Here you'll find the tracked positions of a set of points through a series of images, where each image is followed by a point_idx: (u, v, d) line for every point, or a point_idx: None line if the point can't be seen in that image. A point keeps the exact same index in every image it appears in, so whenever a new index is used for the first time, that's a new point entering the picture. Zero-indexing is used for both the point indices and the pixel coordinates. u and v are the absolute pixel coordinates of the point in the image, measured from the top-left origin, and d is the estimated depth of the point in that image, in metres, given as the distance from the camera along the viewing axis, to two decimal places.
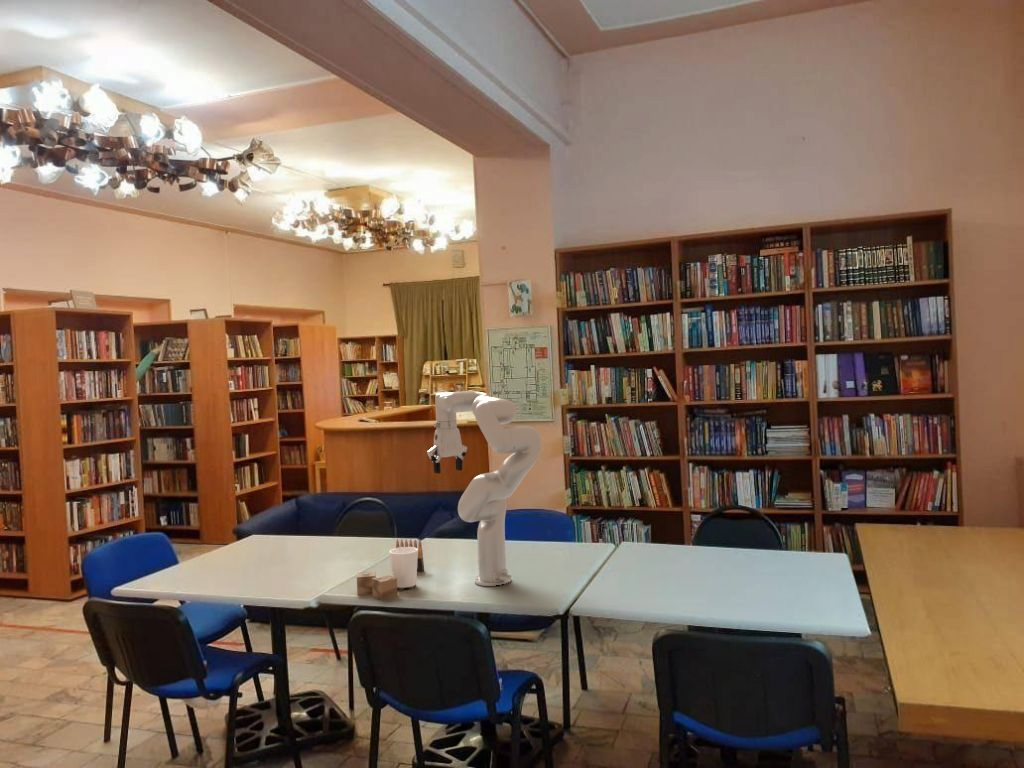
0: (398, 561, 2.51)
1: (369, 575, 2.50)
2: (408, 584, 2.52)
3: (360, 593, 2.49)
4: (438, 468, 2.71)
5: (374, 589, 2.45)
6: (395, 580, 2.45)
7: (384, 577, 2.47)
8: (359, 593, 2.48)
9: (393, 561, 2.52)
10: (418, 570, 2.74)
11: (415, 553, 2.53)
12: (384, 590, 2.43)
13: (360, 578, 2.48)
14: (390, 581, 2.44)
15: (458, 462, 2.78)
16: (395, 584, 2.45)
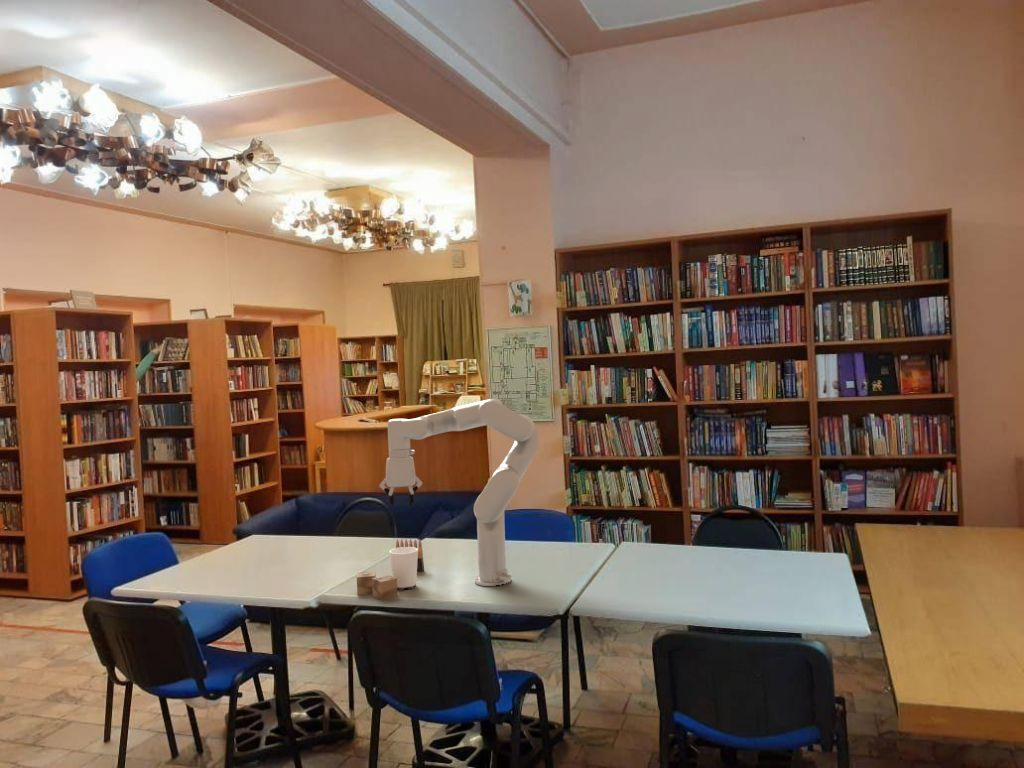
0: (398, 561, 2.51)
1: (369, 575, 2.50)
2: (408, 584, 2.52)
3: (360, 593, 2.49)
4: None
5: (374, 589, 2.45)
6: (395, 580, 2.45)
7: (384, 577, 2.47)
8: (359, 593, 2.48)
9: (393, 561, 2.52)
10: (418, 570, 2.74)
11: (415, 553, 2.53)
12: (384, 590, 2.43)
13: (360, 578, 2.48)
14: (390, 581, 2.44)
15: None
16: (395, 584, 2.45)
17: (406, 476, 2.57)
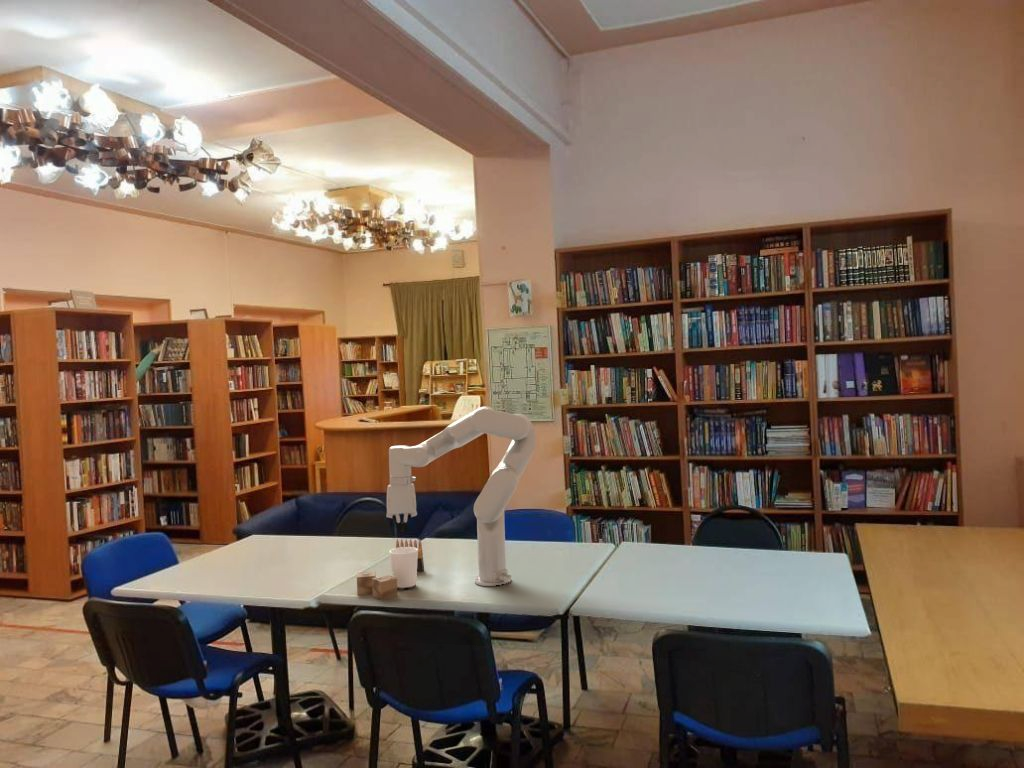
0: (398, 561, 2.51)
1: (369, 575, 2.50)
2: (408, 584, 2.52)
3: (360, 593, 2.49)
4: None
5: (374, 589, 2.45)
6: (395, 580, 2.45)
7: (384, 577, 2.47)
8: (359, 593, 2.48)
9: (393, 561, 2.52)
10: (418, 570, 2.74)
11: (415, 553, 2.53)
12: (384, 590, 2.43)
13: (360, 578, 2.48)
14: (390, 581, 2.44)
15: None
16: (395, 584, 2.45)
17: (407, 503, 2.57)
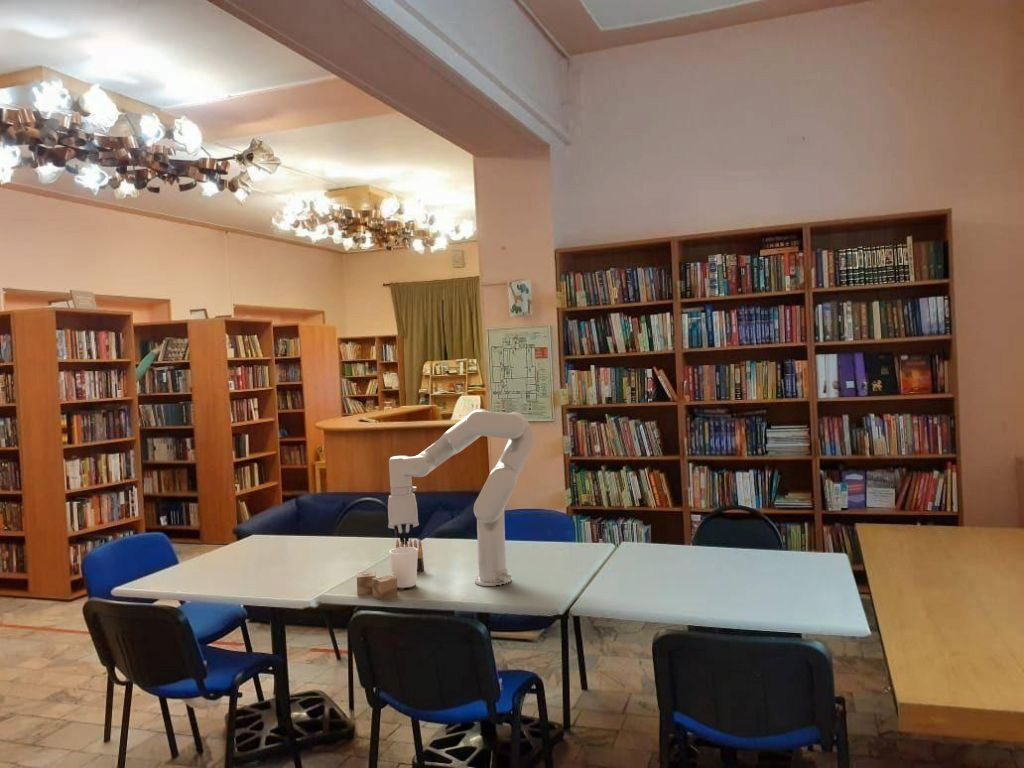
0: (398, 561, 2.51)
1: (369, 575, 2.50)
2: (408, 584, 2.52)
3: (360, 593, 2.49)
4: None
5: (374, 589, 2.45)
6: (395, 580, 2.45)
7: (384, 577, 2.47)
8: (359, 593, 2.48)
9: (393, 561, 2.52)
10: (418, 570, 2.74)
11: (415, 553, 2.53)
12: (384, 590, 2.43)
13: (360, 578, 2.48)
14: (390, 581, 2.44)
15: None
16: (395, 584, 2.45)
17: (408, 513, 2.57)
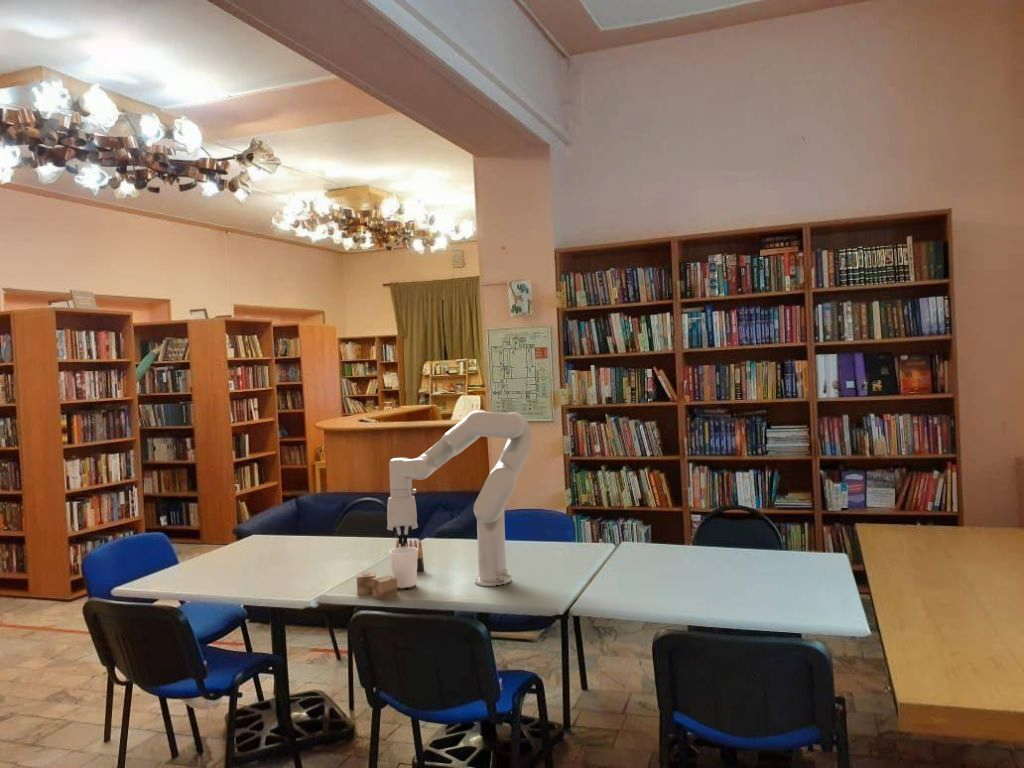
0: (398, 561, 2.51)
1: (369, 575, 2.50)
2: (408, 584, 2.52)
3: (360, 593, 2.49)
4: None
5: (374, 589, 2.45)
6: (395, 580, 2.45)
7: (384, 577, 2.47)
8: (359, 593, 2.48)
9: (393, 561, 2.52)
10: (418, 570, 2.74)
11: (415, 553, 2.53)
12: (384, 590, 2.43)
13: (360, 578, 2.48)
14: (390, 581, 2.44)
15: None
16: (395, 584, 2.45)
17: (407, 516, 2.57)
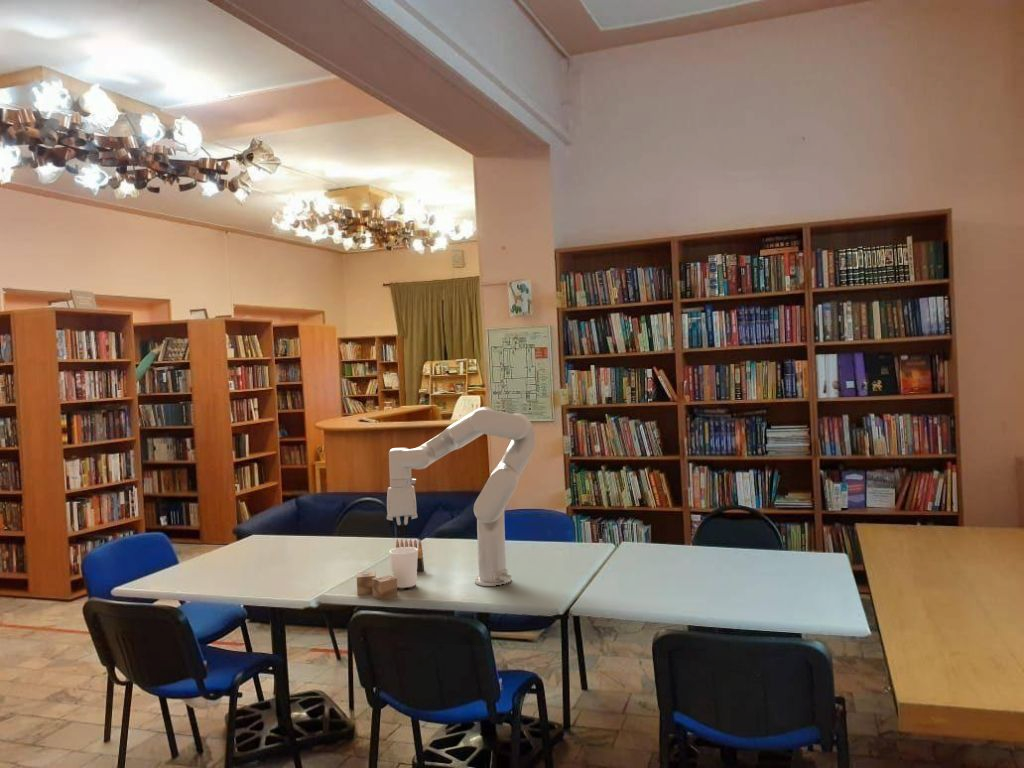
0: (398, 561, 2.51)
1: (369, 575, 2.50)
2: (408, 584, 2.52)
3: (360, 593, 2.49)
4: None
5: (374, 589, 2.45)
6: (395, 580, 2.45)
7: (384, 577, 2.47)
8: (359, 593, 2.48)
9: (393, 561, 2.52)
10: (418, 570, 2.74)
11: (415, 553, 2.53)
12: (384, 590, 2.43)
13: (360, 578, 2.48)
14: (390, 581, 2.44)
15: None
16: (395, 584, 2.45)
17: (407, 505, 2.57)
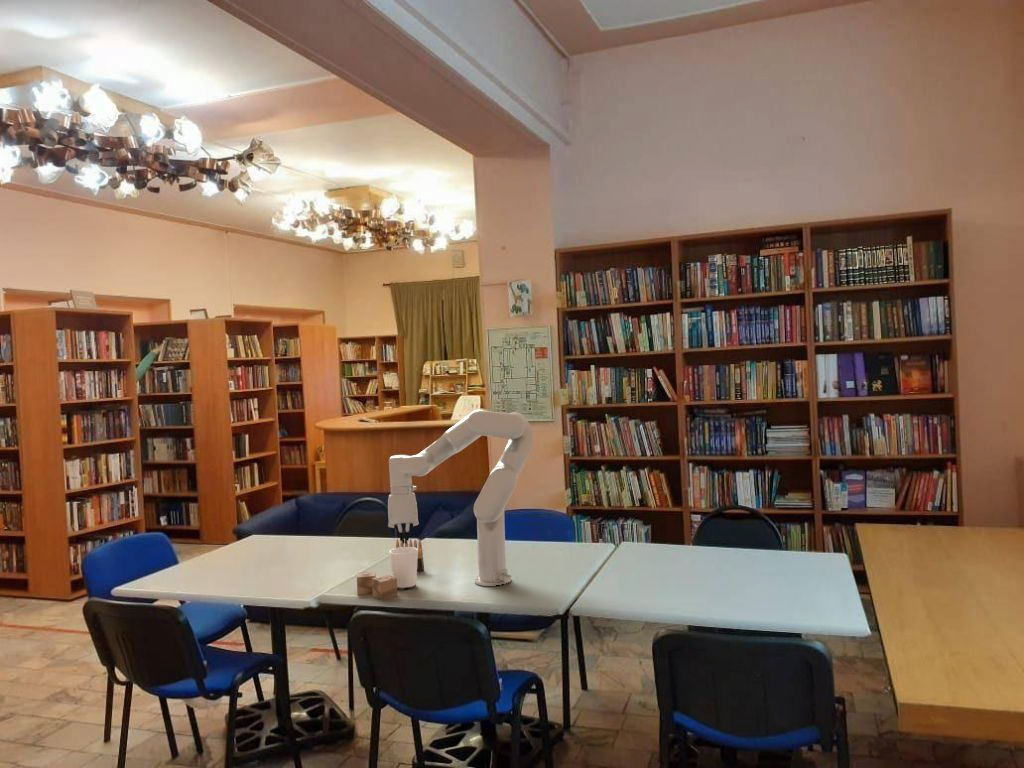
0: (398, 561, 2.51)
1: (369, 575, 2.50)
2: (408, 584, 2.52)
3: (360, 593, 2.49)
4: None
5: (374, 589, 2.45)
6: (395, 580, 2.45)
7: (384, 577, 2.47)
8: (359, 593, 2.48)
9: (393, 561, 2.52)
10: (418, 570, 2.74)
11: (415, 553, 2.53)
12: (384, 590, 2.43)
13: (360, 578, 2.48)
14: (390, 581, 2.44)
15: None
16: (395, 584, 2.45)
17: (408, 513, 2.57)
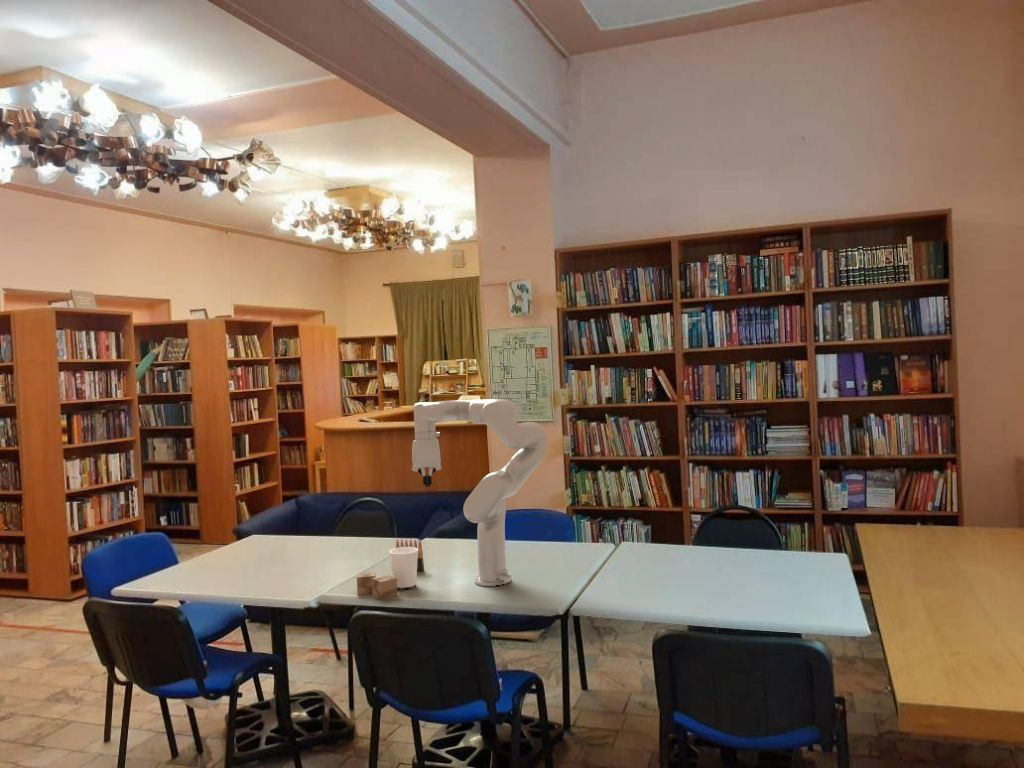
0: (398, 561, 2.51)
1: (369, 575, 2.50)
2: (408, 584, 2.52)
3: (360, 593, 2.49)
4: None
5: (374, 589, 2.45)
6: (395, 580, 2.45)
7: (384, 577, 2.47)
8: (359, 593, 2.48)
9: (393, 561, 2.52)
10: (418, 570, 2.74)
11: (415, 553, 2.53)
12: (384, 590, 2.43)
13: (360, 578, 2.48)
14: (390, 581, 2.44)
15: None
16: (395, 584, 2.45)
17: (432, 457, 2.68)
